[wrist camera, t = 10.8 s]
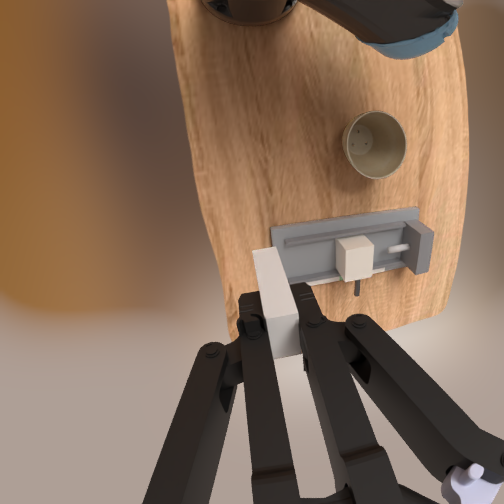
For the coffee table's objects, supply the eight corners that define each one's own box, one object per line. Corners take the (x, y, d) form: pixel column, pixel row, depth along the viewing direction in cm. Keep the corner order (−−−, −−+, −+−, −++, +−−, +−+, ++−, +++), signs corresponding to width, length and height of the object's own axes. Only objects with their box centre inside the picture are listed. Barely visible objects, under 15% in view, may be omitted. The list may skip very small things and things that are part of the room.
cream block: (335, 236, 50) (345, 250, 45) (362, 232, 50) (374, 245, 46) (335, 283, 54) (344, 299, 50) (359, 278, 54) (370, 293, 50)
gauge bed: (270, 227, 50) (277, 246, 43) (416, 206, 50) (437, 220, 44) (276, 287, 55) (283, 311, 49) (410, 262, 56) (428, 280, 49)
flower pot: (377, 173, 47) (399, 185, 40) (324, 162, 45) (340, 172, 39) (389, 118, 42) (413, 121, 36) (335, 102, 41) (353, 102, 35)
